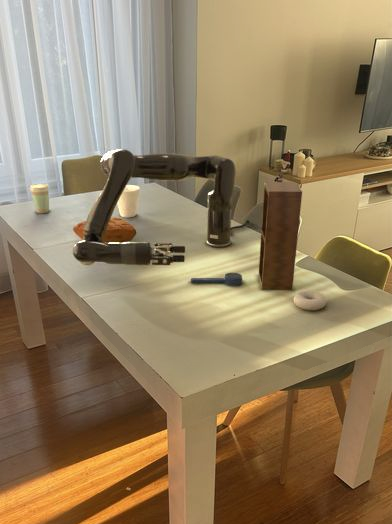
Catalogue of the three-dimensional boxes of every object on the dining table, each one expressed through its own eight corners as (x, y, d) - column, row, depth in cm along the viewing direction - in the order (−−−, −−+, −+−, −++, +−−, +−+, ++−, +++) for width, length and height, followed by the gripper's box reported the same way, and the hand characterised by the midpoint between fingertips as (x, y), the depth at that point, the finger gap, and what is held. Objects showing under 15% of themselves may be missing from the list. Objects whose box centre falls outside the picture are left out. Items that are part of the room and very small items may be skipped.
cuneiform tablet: (89, 253, 206) (87, 232, 202) (72, 240, 219) (69, 221, 215) (140, 242, 217) (139, 223, 213) (121, 231, 229) (120, 212, 225)
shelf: (261, 289, 178) (268, 191, 162) (258, 275, 188) (264, 181, 172) (292, 289, 178) (302, 191, 162) (287, 275, 188) (296, 182, 172)
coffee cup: (49, 214, 250) (46, 187, 244) (31, 214, 250) (27, 187, 244) (54, 209, 257) (50, 183, 251) (36, 208, 258) (32, 183, 251)
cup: (127, 210, 256) (125, 183, 250) (146, 214, 250) (145, 187, 244) (109, 216, 248) (107, 188, 242) (129, 220, 242) (127, 192, 236)
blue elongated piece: (190, 285, 180) (190, 278, 179) (190, 278, 185) (190, 271, 184) (242, 286, 180) (242, 279, 179) (241, 279, 185) (241, 272, 184)
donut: (287, 307, 166) (318, 315, 162) (288, 297, 165) (319, 304, 160) (300, 296, 174) (330, 302, 169) (301, 286, 172) (331, 292, 167)
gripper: (132, 250, 170) (184, 250, 170) (137, 235, 182) (185, 235, 182) (134, 272, 173) (184, 272, 174) (138, 256, 186) (185, 256, 186)
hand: (184, 253), depth 178 cm, fingers open, 8 cm apart
